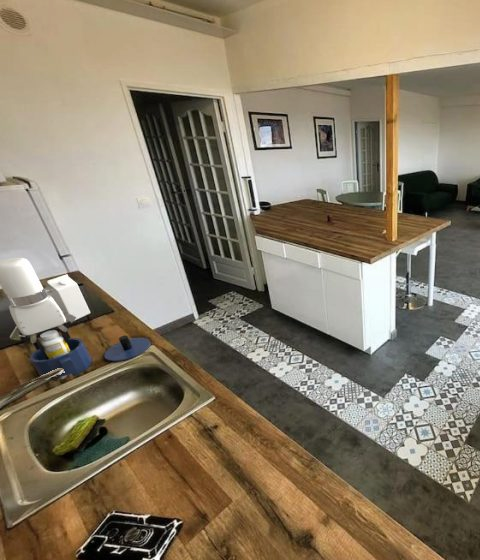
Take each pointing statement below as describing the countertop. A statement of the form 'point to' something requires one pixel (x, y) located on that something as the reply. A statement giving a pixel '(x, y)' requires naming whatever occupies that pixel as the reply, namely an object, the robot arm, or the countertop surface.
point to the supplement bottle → (54, 344)
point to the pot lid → (127, 348)
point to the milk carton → (68, 296)
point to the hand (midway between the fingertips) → (54, 345)
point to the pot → (63, 359)
